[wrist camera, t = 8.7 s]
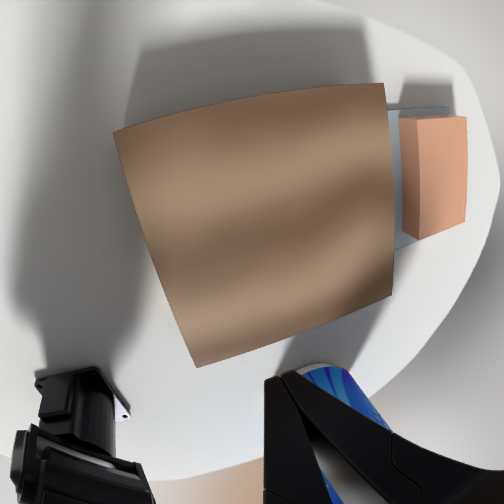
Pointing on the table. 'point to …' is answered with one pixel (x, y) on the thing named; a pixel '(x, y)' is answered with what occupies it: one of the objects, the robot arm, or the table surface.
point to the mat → (393, 115)
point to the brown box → (266, 212)
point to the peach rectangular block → (433, 173)
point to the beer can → (341, 398)
